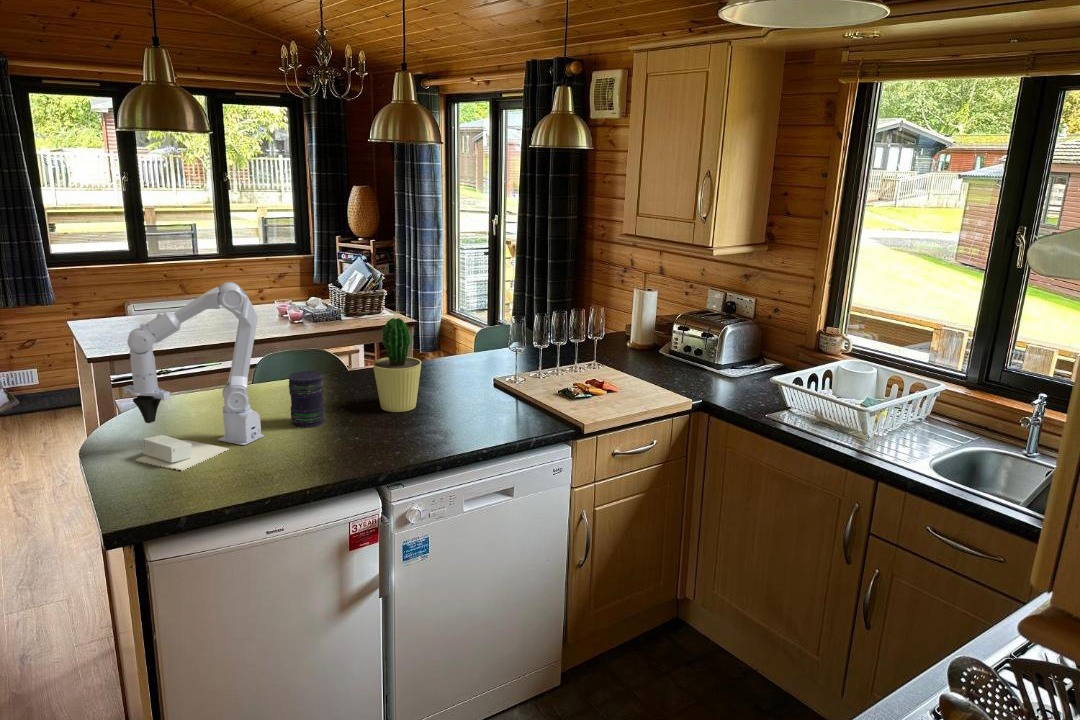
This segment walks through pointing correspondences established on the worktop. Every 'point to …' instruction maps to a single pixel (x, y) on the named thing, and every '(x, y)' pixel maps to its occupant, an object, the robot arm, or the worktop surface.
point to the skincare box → (166, 448)
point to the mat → (198, 455)
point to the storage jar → (306, 399)
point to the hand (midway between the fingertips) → (150, 421)
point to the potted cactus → (397, 370)
